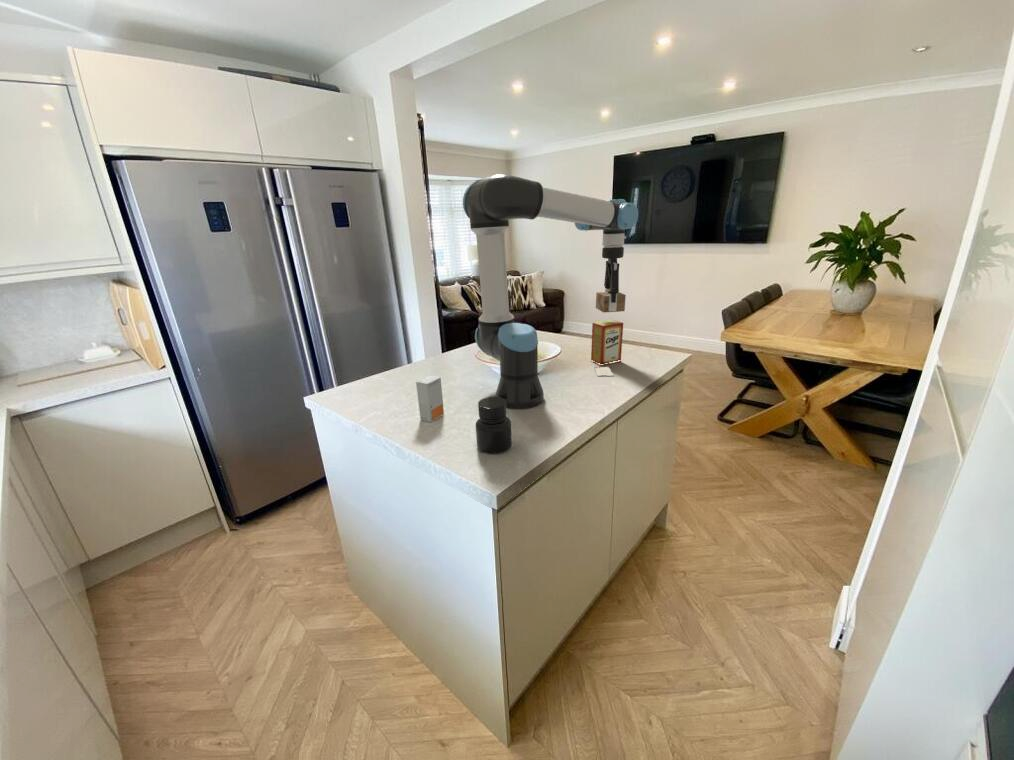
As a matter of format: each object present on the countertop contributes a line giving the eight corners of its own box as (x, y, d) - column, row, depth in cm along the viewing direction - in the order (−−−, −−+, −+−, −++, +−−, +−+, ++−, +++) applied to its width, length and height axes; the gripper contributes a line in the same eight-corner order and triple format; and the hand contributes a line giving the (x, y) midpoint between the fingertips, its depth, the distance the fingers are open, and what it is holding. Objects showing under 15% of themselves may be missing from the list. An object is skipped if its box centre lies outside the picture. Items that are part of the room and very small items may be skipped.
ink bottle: (514, 437, 104) (513, 394, 100) (513, 455, 96) (511, 410, 92) (477, 437, 105) (474, 395, 100) (473, 455, 97) (469, 410, 92)
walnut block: (624, 311, 147) (625, 294, 145) (603, 312, 147) (604, 296, 144) (615, 306, 156) (616, 291, 154) (595, 308, 155) (596, 292, 153)
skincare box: (431, 423, 113) (426, 384, 109) (420, 420, 116) (415, 381, 111) (445, 414, 118) (441, 377, 114) (434, 412, 120) (429, 374, 116)
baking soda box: (601, 365, 154) (603, 325, 148) (591, 361, 159) (592, 321, 154) (620, 361, 157) (623, 321, 152) (610, 357, 163) (612, 318, 157)
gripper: (630, 247, 132) (626, 314, 140) (618, 244, 153) (614, 302, 161) (607, 248, 133) (604, 314, 141) (598, 245, 154) (596, 303, 162)
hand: (610, 308), depth 151 cm, fingers closed on walnut block, 10 cm apart
